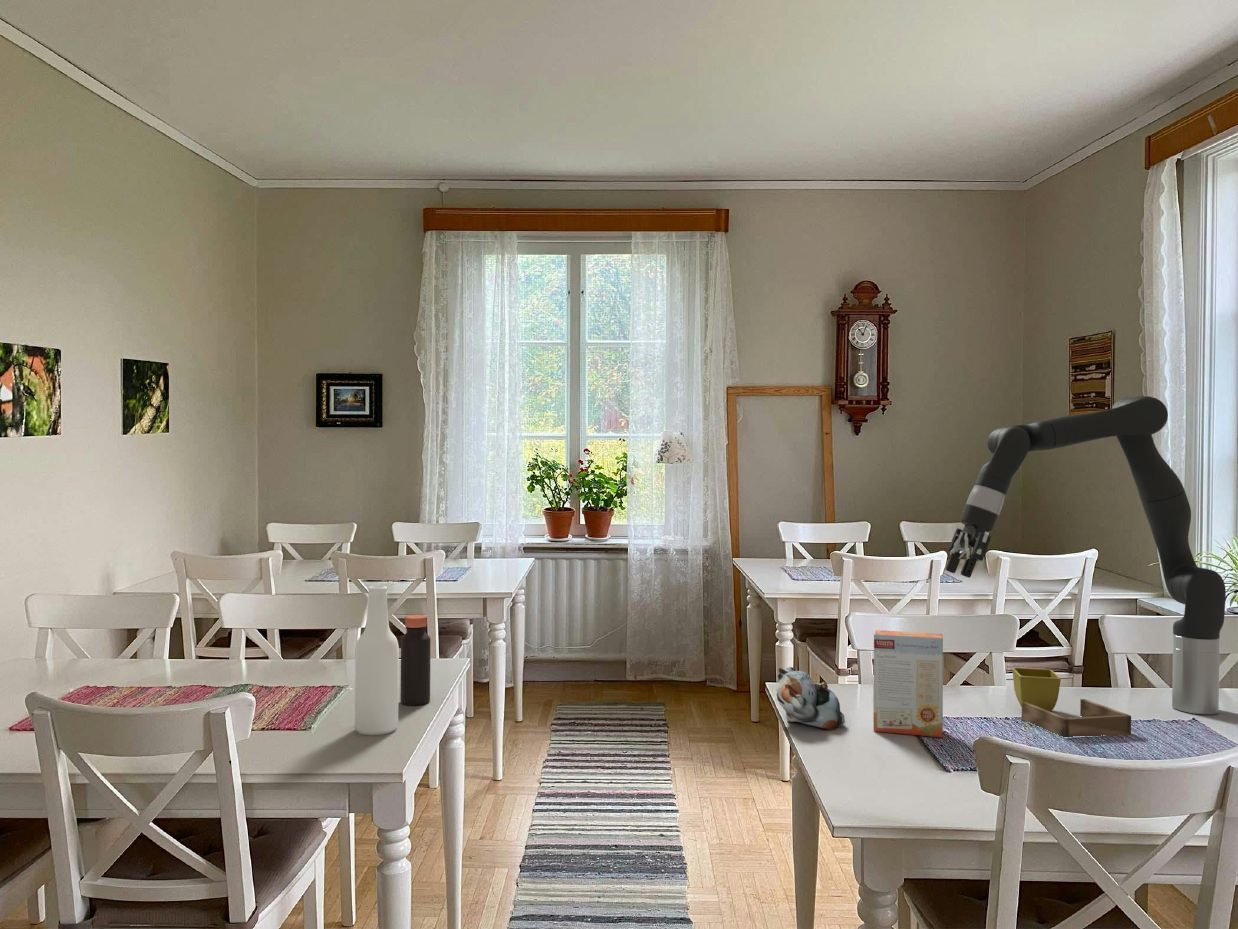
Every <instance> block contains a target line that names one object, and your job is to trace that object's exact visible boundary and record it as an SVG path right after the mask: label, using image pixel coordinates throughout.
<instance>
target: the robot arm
mask: <svg viewBox="0 0 1238 929" xmlns="http://www.w3.org/2000/svg"><path fill="white" fill-rule="evenodd" d="M1168 412H1169V411H1168V409H1167V407H1166V405H1165V404H1164V402H1163V401H1161V400H1160V399H1158V398H1156V397H1153V396H1149V395H1148V396H1147V395H1141V396H1139V395H1138V396H1133V397H1125V398H1121V399H1119V400H1117V401H1116V402H1114V404H1113V405H1112V406H1111V408H1110V409H1105V410H1100V411H1094V412H1085V413H1078V414H1077V413H1076V414H1069V415H1063V416H1057V417H1052V418H1051V417H1050V418H1047V419H1042V420H1038V421H1034V422H1031V423H1027V424H1026V423H1025V424H1016V425H1010V426H1003V427H999V428H996V429H995V430H993V431H992V432H991V433H990V434H989V436H988V437H987V440H986V443H987V448H988V450H989V451H990V453H991V454H992V457H991V459H990V460H989V461H988V462H987V463H985V464H983V465H982V467H981V469H980V471H979V473H978V476H977V478H976V480H975V483H974V486H973V488H972V489H971V491H970V493H969V495H968V498H967V500H966V502H965V506H964V508H963V510H962V513H961V516H960V518H959V523H960V524H963V525H964V527H963V529H961V528H956V530H955V531H954V535H953V537H952V539H951V541H950V544H949V546H948V549H947V552H948V553H949V556H950V557H949V559H948V562H947V564H946V567H945V571H947V572H949V573H952V574H956V572H957V569H958V567H959V565H960V562H961V558H962V557H963V556H964V554H966V559H965V560H964V563H963V565H962V568H961V570H960V575H961V576H963V577H965V578H971V577H972V575H973V572H974V569H975V567H976V564H978V563H979V562H980V561H981V562H982V561H983V560H984V558H985V555H986V553H987V550H988V547H989V544H990V541H991V538H992V537H991V536H990V535H989V534H991V533H993V531H994V529H995V527H996V525H997V521H998V519H999V516H1000V514H1001V510H1002V508H1003V506H1004V502H1005V498H1006V495H1007V492H1008V490H1009V488H1010V485H1011V482H1012V480H1013V479H1012V478H1013V477H1014V476H1015V474H1016V473H1017V472H1018V470H1019V468H1020V467H1021V465H1022V463H1024V461H1025V458H1027V455H1028V453H1030V452H1036V451H1038V452H1039V451H1041V452H1042V451H1050V450H1055V449H1060V448H1064V447H1068V446H1074V445H1077V444H1082V443H1086V442H1091V441H1095V440H1099V439H1100V440H1101V439H1104V438H1111V437H1116V438H1117V440H1118V442H1119V445H1120V448H1122V451H1123V453H1124V456H1125V458H1126V460H1127V463H1128V465H1129V470H1130V472H1131V475H1132V477H1133V480H1134V483H1135V486H1136V489H1137V493H1138V496H1139V498H1140V502H1141V504H1142V508H1143V510H1144V513H1145V515H1146V519H1147V522H1148V525H1149V527H1150V531H1151V534H1152V537H1153V539H1154V542H1155V545H1156V548H1157V552H1158V555H1159V559H1160V564H1161V569H1162V574H1163V579H1164V584H1165V588H1166V590H1167V592H1168V594H1169V595H1170V597H1171V598H1172V599H1173V600H1174V601H1175V602H1177V603H1179V604H1182V605H1184V614H1183V617H1182V618H1181V619H1179V620H1178V619H1177V620H1175V621H1174V622H1173V625H1172V692H1171V696H1172V697H1171V706H1172V707H1171V708H1173V709H1175V710H1177V711H1180V712H1185V713H1190V714H1194V715H1195V714H1197V715H1216V714H1219V708H1220V706H1219V705H1220V704H1219V701H1220V700H1219V698H1220V633H1221V630H1222V628H1223V626H1224V624H1225V623H1224V621H1225V611H1226V598H1227V594H1226V592H1227V591H1226V585H1225V581H1224V579H1223V577H1222V576H1221V575H1220V573H1218V572H1217V571H1215V570H1213V569H1209V568H1205V567H1201V566H1197V564H1196V561H1195V559H1194V557H1193V554H1192V551H1191V548H1190V547H1191V546H1190V544H1189V532H1190V526H1191V521H1192V508H1191V505H1190V501H1189V498H1188V496H1187V493H1186V491H1185V490H1186V489H1185V487H1184V485H1183V483H1182V481H1181V480H1180V478H1179V476H1178V475H1177V474H1176V473H1175V472H1174V470H1173V468H1171V466H1170V465H1169V464H1168V462H1166V460H1165V459H1164V458H1163V457H1162V455H1161V453H1160V452H1159V450H1158V449H1157V446H1156V444H1155V442H1154V438H1153V435H1154V434H1156V433H1158V432H1160V431H1161V430H1162V429H1163V428H1164V427H1165V426H1166V424H1167V422H1168V419H1169V418H1168V417H1169V413H1168ZM986 533H988V534H986Z"/></svg>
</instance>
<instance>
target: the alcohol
mask: <svg viewBox="0 0 1238 929" xmlns="http://www.w3.org/2000/svg"><path fill="white" fill-rule="evenodd" d="M367 590H368V592H367V596H368V598H367V608H366V609H367V610H366V623H365V627H364V631H363V633H362V634H361V635H360V636H359V638H358V639H357V641H356V644H355V656H354V657H355V658H354V659H355V664H354V665H355V673H354V675H355V676H354V678H355V679H354V729H355V731H356V732H357V733H358V734H360V735H364V736H381V735H387V734H390V733H394V732H395V731H396V729H397V728H398V726H399V676H400V674H399V670H400V669H399V667H400V666H399V664H400V661H399V660H400V659H399V658H400V657H399V656H400V652H399V651H400V646H399V641H398V639H397V637H396V636H395V634H394V633H393V632H392V630H391V628H390V625H389V624H390V622H389V609H388V608H389V607H388V587H387V586H386V585H371V586H369V587H367Z"/></svg>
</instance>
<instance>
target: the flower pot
mask: <svg viewBox="0 0 1238 929" xmlns="http://www.w3.org/2000/svg"><path fill="white" fill-rule="evenodd" d="M1011 671H1012V679H1013V680H1012V681H1013V689H1014V693H1015V697H1016V700H1017V701H1018V703H1019V705H1020V707H1021V708H1022V702H1027V703H1029V704H1032V705H1034V706H1037V707H1039V708H1042V709H1044V710H1047V711H1049V712H1052V711H1053V710H1054V709H1055V706H1056V705H1057V703H1058V699H1059V693H1060V686H1061V681H1062V680H1061V677H1060V676H1059V675H1058V674H1057V673H1056V672H1055V671H1054V670H1052V669H1047V668H1046V669H1045V668H1029V667H1012V668H1011Z"/></svg>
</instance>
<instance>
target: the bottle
mask: <svg viewBox="0 0 1238 929" xmlns="http://www.w3.org/2000/svg"><path fill="white" fill-rule="evenodd" d="M427 619H428V618H427V616H426V615H422V614H411V615H407V616H405V618H404V626H405V627H404V628H405V629H406V632H405V633H404V635H403V636H401V639H400V691H399V692H400V698H399V699H400V703H401V704H402V705H404V704H405V705H404V706H409V705H415V706H423V705H427V704H428V703H430V701H431V643H432V642H431V641H432V640H431V636H430V635H429V634H428V633H427V632H426V629H427ZM426 703H427V704H426ZM422 704H423V705H422Z"/></svg>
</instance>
